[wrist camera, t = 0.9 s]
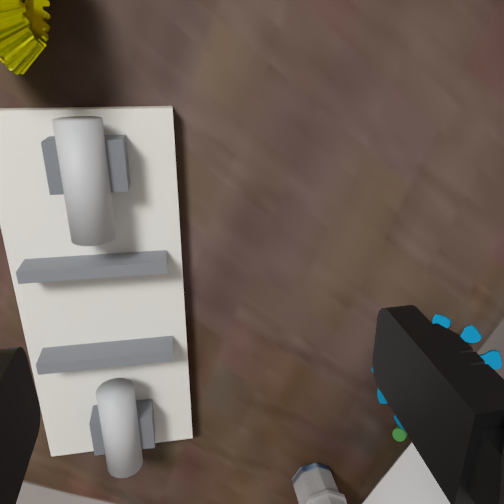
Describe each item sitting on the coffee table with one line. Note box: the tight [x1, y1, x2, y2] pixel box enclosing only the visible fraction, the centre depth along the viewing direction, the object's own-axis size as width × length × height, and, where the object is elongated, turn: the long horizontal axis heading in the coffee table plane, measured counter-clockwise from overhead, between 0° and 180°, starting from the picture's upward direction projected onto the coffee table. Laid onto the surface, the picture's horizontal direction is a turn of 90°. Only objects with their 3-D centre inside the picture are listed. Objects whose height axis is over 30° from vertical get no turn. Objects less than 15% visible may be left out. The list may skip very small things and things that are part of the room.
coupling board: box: [0, 106, 193, 478], centre depth 31 cm, size 26×11×4 cm, turn 0°
